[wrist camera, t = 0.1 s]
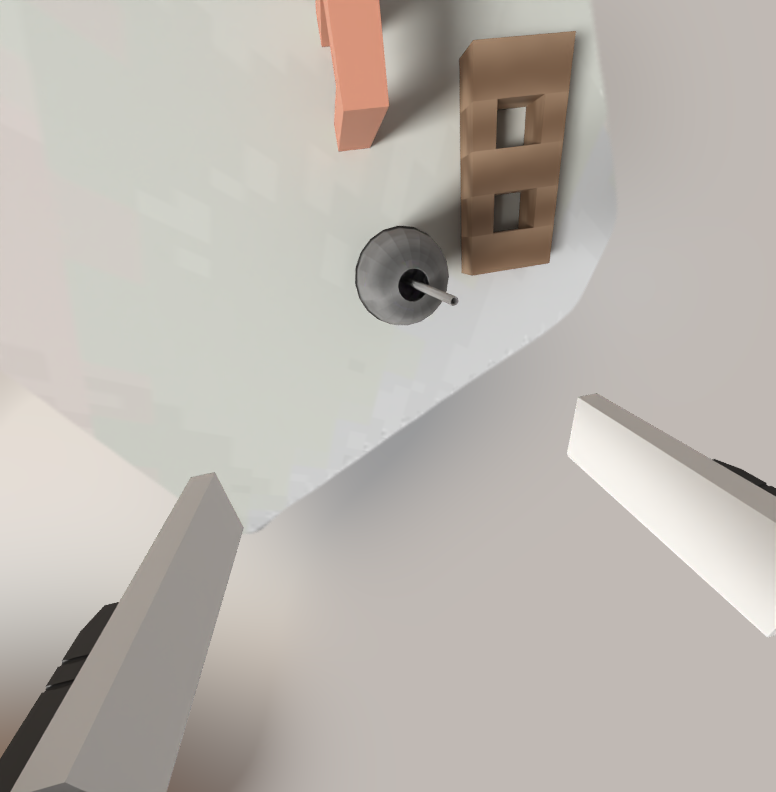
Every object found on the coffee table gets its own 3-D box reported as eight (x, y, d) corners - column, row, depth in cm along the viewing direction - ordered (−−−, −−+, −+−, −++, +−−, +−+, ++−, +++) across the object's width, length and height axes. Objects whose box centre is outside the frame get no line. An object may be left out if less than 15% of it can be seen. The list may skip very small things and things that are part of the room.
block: (316, 11, 25) (308, -123, 16) (352, 9, 25) (367, -125, 16) (338, 151, 29) (343, 111, 20) (369, 147, 29) (389, 106, 20)
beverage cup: (353, 221, 32) (384, 200, 14) (419, 239, 34) (518, 240, 16) (341, 293, 35) (355, 349, 17) (402, 306, 37) (471, 368, 19)
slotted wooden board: (459, 59, 27) (473, 40, 25) (552, 50, 28) (575, 31, 26) (461, 272, 36) (472, 275, 33) (533, 261, 37) (549, 263, 34)
